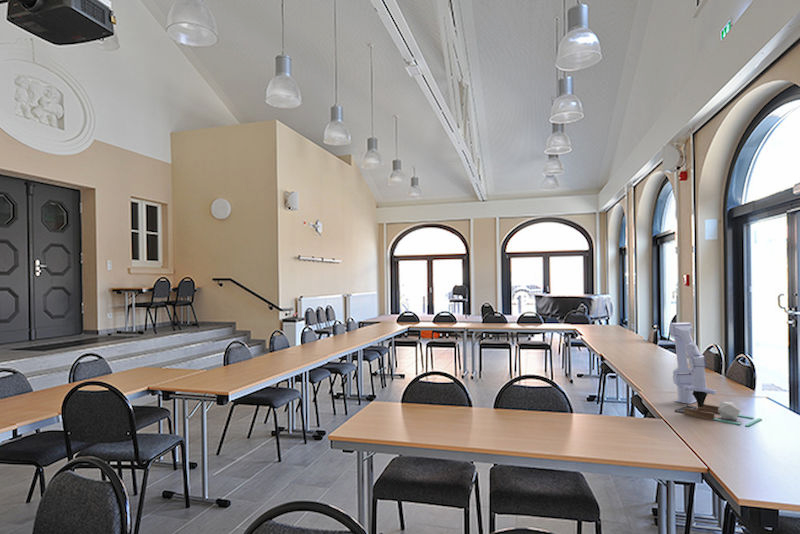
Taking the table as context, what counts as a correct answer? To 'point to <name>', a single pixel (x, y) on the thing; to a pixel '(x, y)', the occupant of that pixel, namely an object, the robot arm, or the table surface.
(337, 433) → the table surface
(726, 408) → the die
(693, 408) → the grey flat rectangular tray
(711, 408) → the channel
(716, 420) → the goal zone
